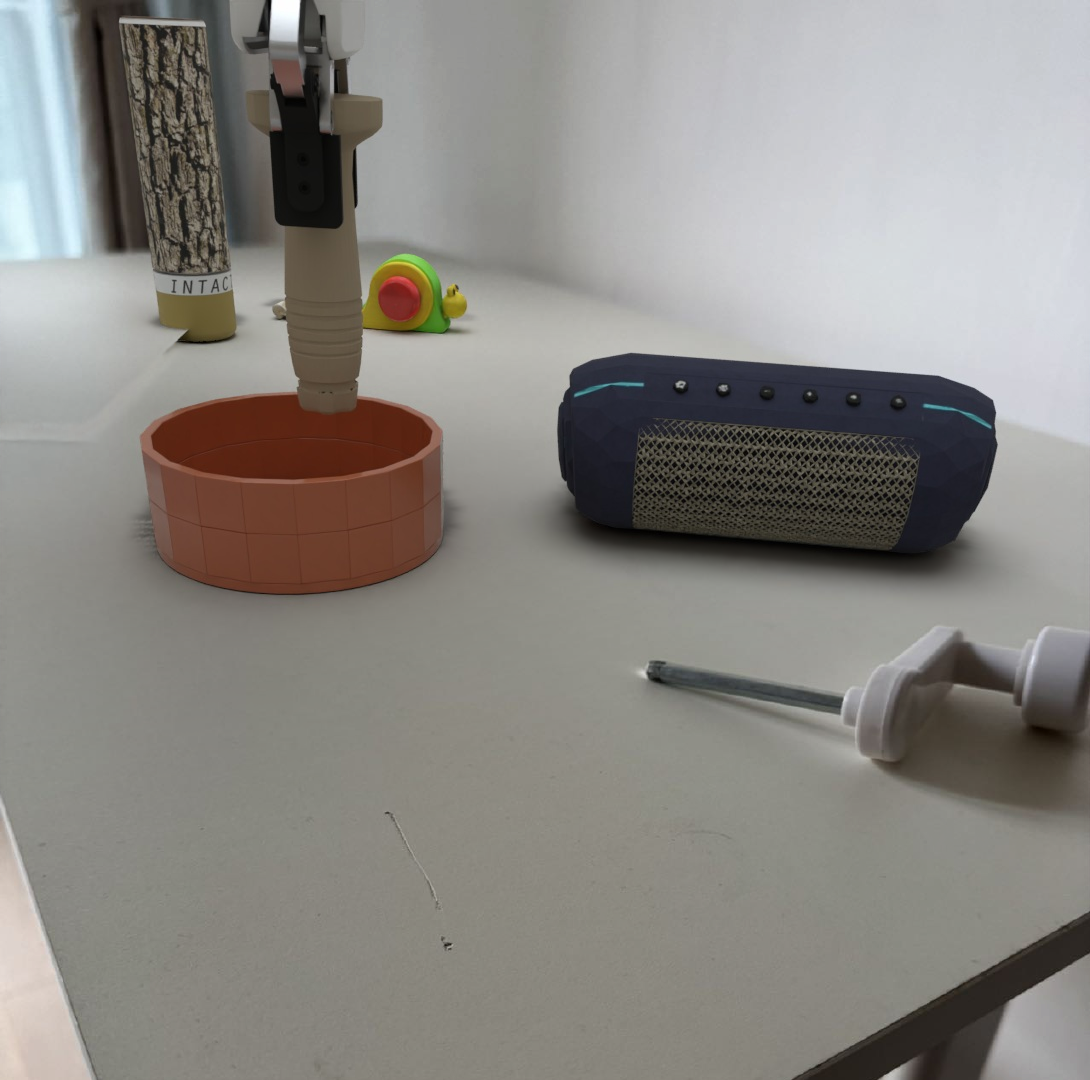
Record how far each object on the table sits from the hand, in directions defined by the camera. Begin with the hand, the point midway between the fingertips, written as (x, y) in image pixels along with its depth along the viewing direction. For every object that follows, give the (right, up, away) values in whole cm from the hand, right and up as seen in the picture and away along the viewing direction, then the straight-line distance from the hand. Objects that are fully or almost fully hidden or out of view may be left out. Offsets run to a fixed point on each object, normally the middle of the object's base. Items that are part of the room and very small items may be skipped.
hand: (318, 213), depth 56 cm
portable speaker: (+24, -14, +12) cm, 30 cm away
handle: (-1, -8, +5) cm, 10 cm away
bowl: (-3, -15, +9) cm, 17 cm away
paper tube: (-21, +10, +48) cm, 53 cm away
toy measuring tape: (-6, +14, +55) cm, 57 cm away
